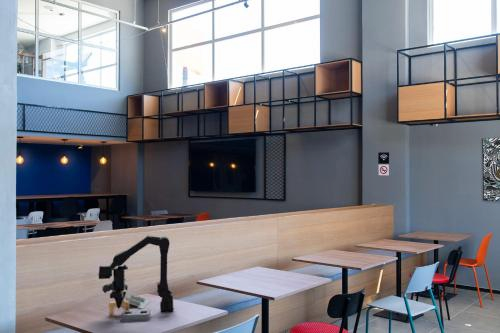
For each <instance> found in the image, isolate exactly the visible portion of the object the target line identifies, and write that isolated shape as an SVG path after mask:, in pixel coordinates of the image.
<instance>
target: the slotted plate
mask: <svg viewBox="0 0 500 333" xmlns="http://www.w3.org/2000/svg"><path fill="white" fill-rule="evenodd" d="M151 313H152V312H151V309H138V310H137V309H136V310H129V311H125V310H123V311H122V313H121V314H120V322H134V321H135V322H139V321H149V320H150V318H151Z"/></svg>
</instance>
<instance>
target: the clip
mask: <svg viewBox="0 0 500 333" xmlns="http://www.w3.org/2000/svg"><path fill="white" fill-rule="evenodd" d="M108 304H109V305H108V306H109V310H108V311H109V313H108V314H109V316H114V315H115V308H117V304H116V301H115V300H114V301H111V300H110V301H109V303H108ZM120 308H124V311H130V304H129V301H124V300H123V301H122V303H121V306H120Z"/></svg>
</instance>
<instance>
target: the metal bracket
mask: <svg viewBox="0 0 500 333" xmlns="http://www.w3.org/2000/svg"><path fill="white" fill-rule="evenodd" d="M123 301H129V305H132V306H135V307H137V309H140V310H144V309H145V307H146V306H147V305H149V304H150V303H151V302H152V301H151V300H149V299H146V298H144V297H141V296H135V295H134V294H131V295H129V296H125V297H124V300H123Z"/></svg>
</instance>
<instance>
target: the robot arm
mask: <svg viewBox="0 0 500 333" xmlns="http://www.w3.org/2000/svg"><path fill="white" fill-rule="evenodd" d="M170 244H171V243H170V239H169V238H168V237H167V236H161V237H159V236H152V235H147V236H145V237H144V238H143V239H141V240H139V241H138V242H137V243H135V244H133V245H131V247H129V248H127V249H126V250H123V251H121V252H119V253H118V252H117V253H116V254H115V255H114V256H113V258H112V262H111V263H110V265H99V267H98V280H107V279H109V280H110V279H111V277H113V280H112V281H111V282H109V283H108V284H107V283H106V284H105V285H103V286H102V287H101V290H102V292H103V293H104V294H106V293H107V292H111V293H110V294H109V298H110V299H114V301H116V304H117V307H116V308H117V309H121V307H120V306H121V303H122V301H124V300H125V298H126V294H127V291H128V290H129V285H127V284H126V278H125V271H126V270H128V269H129V266H128V265H126V264H124V263H126V262H127V260H129V259H130V257H132V256H133V255H135V254H136V253H138V252H139V251H141V250H142V249H144V248H145V247H147V246H148V245H153V246H156V247H157V246H158V247H159V252H160V259H159V260H160V263H159V264H160V267H159V268H160V269H159V271H160V272H159V274H160V277H159V282H156V287H157V288H156V293H158V296H159V297H160V298H161V300H160V303H159V306H160V308H159V309H160V312H161V313H172V312H174V310H175V308H174V297H173V296H174V294H173V292H172V291H171V290H169V284H168V255H169V254H168V253H169V249H170Z"/></svg>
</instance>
